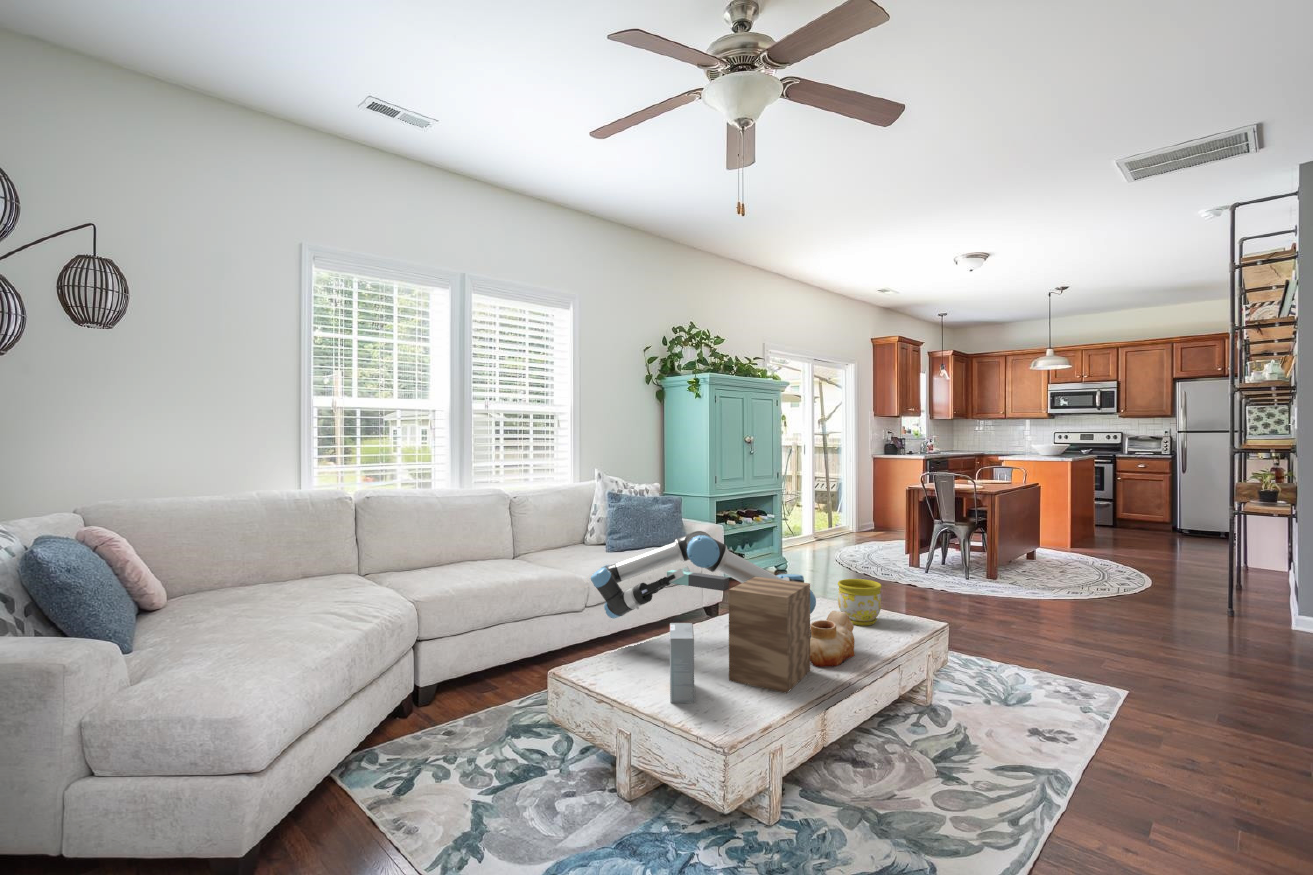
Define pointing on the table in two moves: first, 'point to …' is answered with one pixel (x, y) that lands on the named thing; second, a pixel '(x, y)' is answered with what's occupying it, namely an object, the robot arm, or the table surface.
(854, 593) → the flowerpot
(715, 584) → the bar
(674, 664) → the hard drive box
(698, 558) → the robot arm
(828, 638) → the ceramic vessel
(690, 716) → the table surface
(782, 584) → the upright wooden block
